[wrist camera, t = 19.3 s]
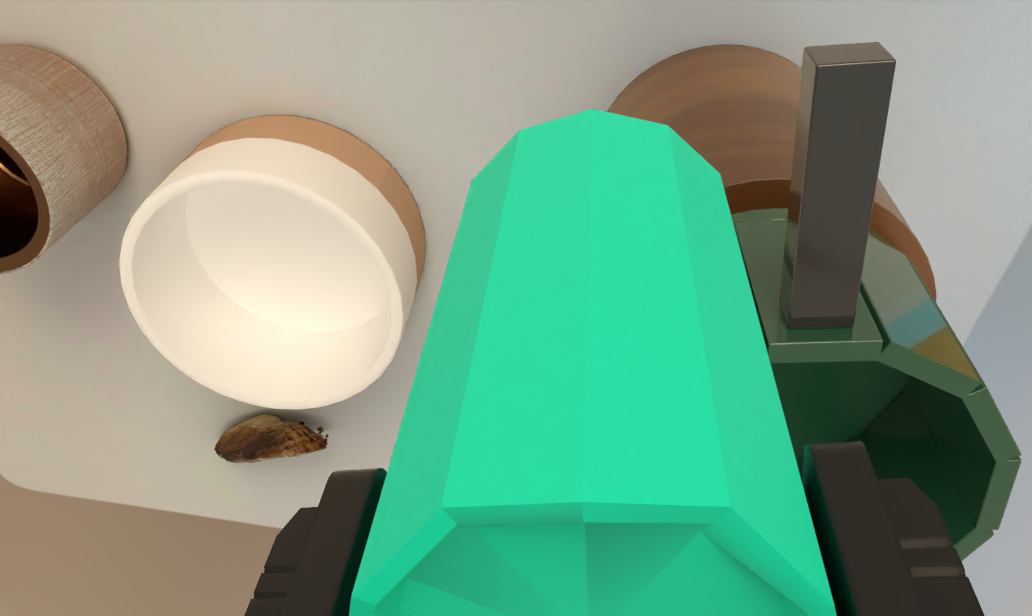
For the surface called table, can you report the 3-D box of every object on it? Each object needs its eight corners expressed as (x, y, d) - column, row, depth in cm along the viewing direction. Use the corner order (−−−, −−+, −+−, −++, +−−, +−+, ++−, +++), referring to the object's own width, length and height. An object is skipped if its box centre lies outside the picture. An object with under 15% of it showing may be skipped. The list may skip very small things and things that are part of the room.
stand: (575, 66, 49) (567, 203, 35) (843, 24, 47) (953, 153, 32) (606, 280, 57) (611, 464, 43) (836, 254, 55) (922, 440, 40)
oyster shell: (273, 405, 72) (336, 412, 65) (275, 448, 72) (338, 460, 65) (205, 414, 68) (264, 423, 61) (208, 460, 68) (267, 475, 61)
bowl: (454, 160, 53) (433, 223, 46) (398, 362, 63) (374, 439, 56) (183, 77, 51) (120, 130, 45) (168, 298, 61) (114, 369, 54)
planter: (128, 221, 58) (54, 298, 50) (-33, 173, 56) (-136, 244, 48) (136, 73, 52) (52, 135, 44) (-46, 16, 50) (-165, 68, 42)
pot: (900, 456, 40) (968, 620, 32) (610, 460, 41) (614, 617, 34) (1008, -33, 27) (1159, 52, 20) (591, -1, 29) (590, 89, 22)
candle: (781, 278, 19) (981, 892, 9) (553, 383, 21) (510, 965, 11) (649, 51, 16) (722, 562, 6) (406, 198, 18) (177, 743, 8)
